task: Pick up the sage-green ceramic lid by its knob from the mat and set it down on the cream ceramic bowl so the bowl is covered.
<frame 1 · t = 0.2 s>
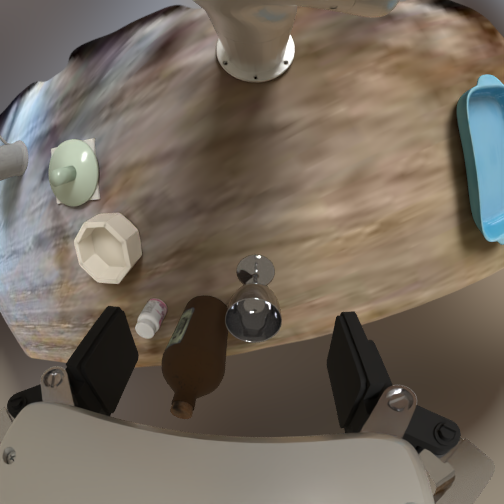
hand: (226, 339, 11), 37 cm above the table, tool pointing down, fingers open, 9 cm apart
pill bottle: (157, 306, 55), on the table
olive oil: (207, 312, 55), on the table
casserole dish: (486, 158, 39), on the table
glass holder: (16, 148, 41), on the table
lid: (73, 172, 43), resting on mat
bowl: (115, 241, 49), on the table
wine glass: (255, 271, 51), on the table
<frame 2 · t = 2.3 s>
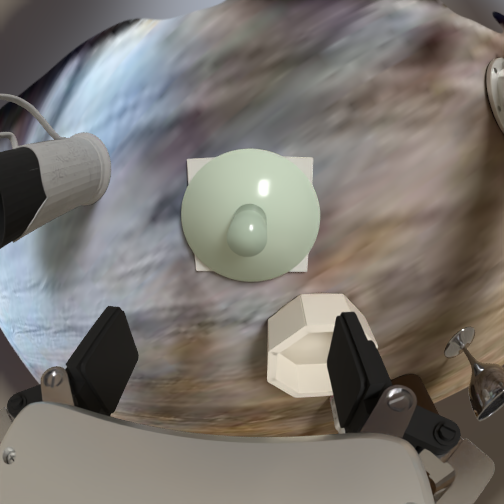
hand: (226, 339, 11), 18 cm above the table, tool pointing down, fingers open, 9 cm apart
pill bottle: (343, 394, 39), on the table
olive oil: (397, 389, 39), on the table
glass holder: (76, 148, 25), on the table
lid: (250, 217, 27), resting on mat
mat: (250, 216, 27), on the table
bowl: (315, 331, 33), on the table
wine glass: (459, 342, 34), on the table
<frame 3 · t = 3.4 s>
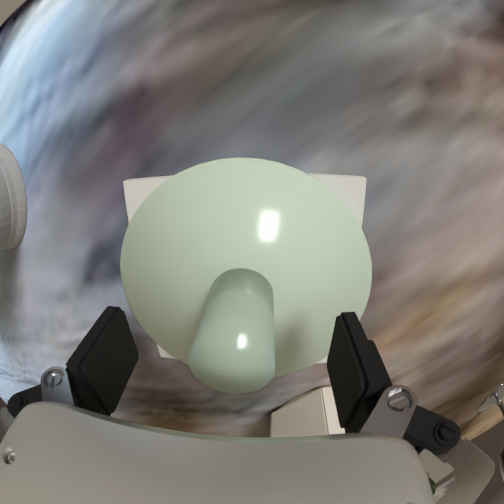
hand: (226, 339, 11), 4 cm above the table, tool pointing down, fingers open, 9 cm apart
lid: (243, 287, 15), resting on mat
mat: (243, 283, 15), on the table
bowl: (335, 418, 21), on the table
wine glass: (495, 395, 22), on the table
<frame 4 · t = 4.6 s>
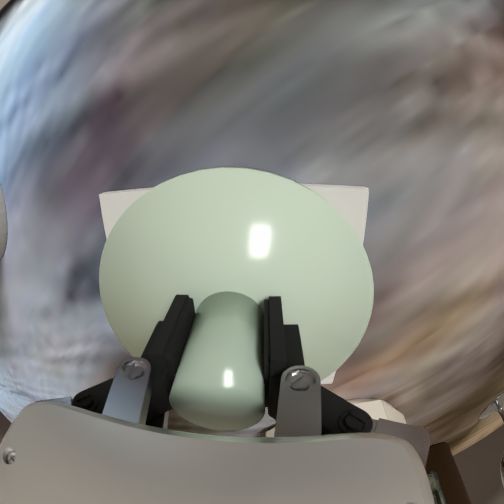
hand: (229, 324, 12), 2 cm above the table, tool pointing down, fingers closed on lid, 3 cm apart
olive oil: (420, 456, 25), on the table
lid: (231, 310, 13), point 1 cm above the table, touching gripper, mat
mat: (232, 304, 14), on the table
bowl: (332, 435, 19), on the table
wine glass: (496, 403, 21), on the table
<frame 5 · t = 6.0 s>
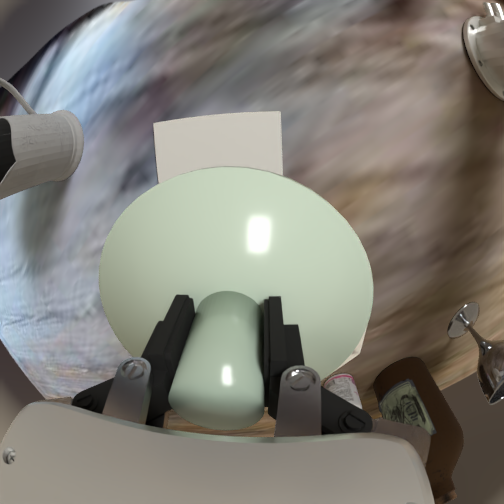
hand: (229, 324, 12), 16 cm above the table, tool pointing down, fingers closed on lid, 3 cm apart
pill bottle: (338, 381, 37), on the table
olive oil: (398, 375, 37), on the table
glass holder: (53, 126, 23), on the table
lid: (231, 309, 13), point 15 cm above the table, touching gripper
mat: (218, 176, 25), on the table
wine glass: (463, 320, 32), on the table
when the fingers open (8 cm above the table, at t = 7.8 s): lid stays where it is, resting on bowl.
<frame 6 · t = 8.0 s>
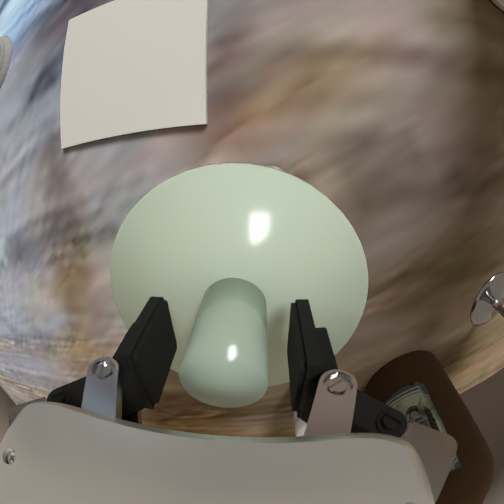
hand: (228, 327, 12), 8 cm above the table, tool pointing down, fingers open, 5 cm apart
olive oil: (401, 376, 26), on the table
lid: (235, 297, 14), point 6 cm above the table, touching bowl
mat: (126, 58, 14), on the table
wine glass: (490, 299, 21), on the table
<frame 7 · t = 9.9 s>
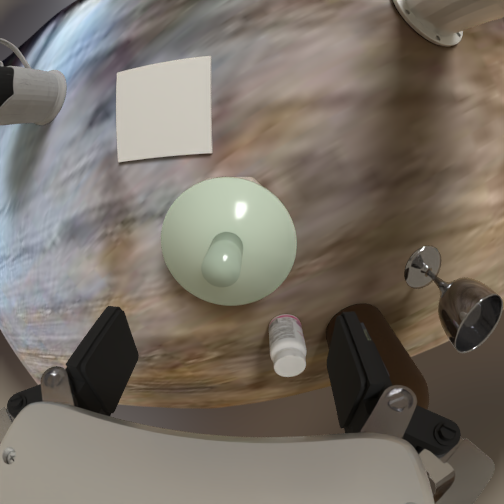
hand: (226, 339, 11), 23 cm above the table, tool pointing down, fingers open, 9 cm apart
pill bottle: (284, 325, 39), on the table
olive oil: (354, 326, 39), on the table
glass holder: (45, 83, 25), on the table
lid: (227, 244, 27), point 6 cm above the table, touching bowl
mat: (161, 108, 27), on the table
wine glass: (423, 267, 35), on the table
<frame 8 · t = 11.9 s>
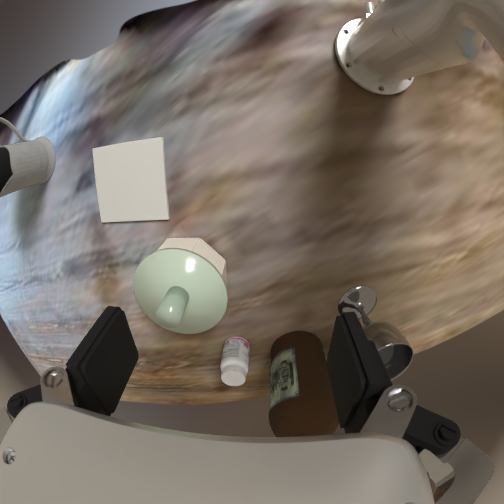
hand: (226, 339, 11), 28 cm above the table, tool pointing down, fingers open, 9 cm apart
pill bottle: (237, 344, 48), on the table
olive oil: (296, 348, 48), on the table
glass holder: (37, 146, 34), on the table
lid: (179, 293, 37), point 6 cm above the table, touching bowl
mat: (129, 181, 36), on the table
bowl: (188, 273, 42), on the table
wine glass: (357, 303, 44), on the table
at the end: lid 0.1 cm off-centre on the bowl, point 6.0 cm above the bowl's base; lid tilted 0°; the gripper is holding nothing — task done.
